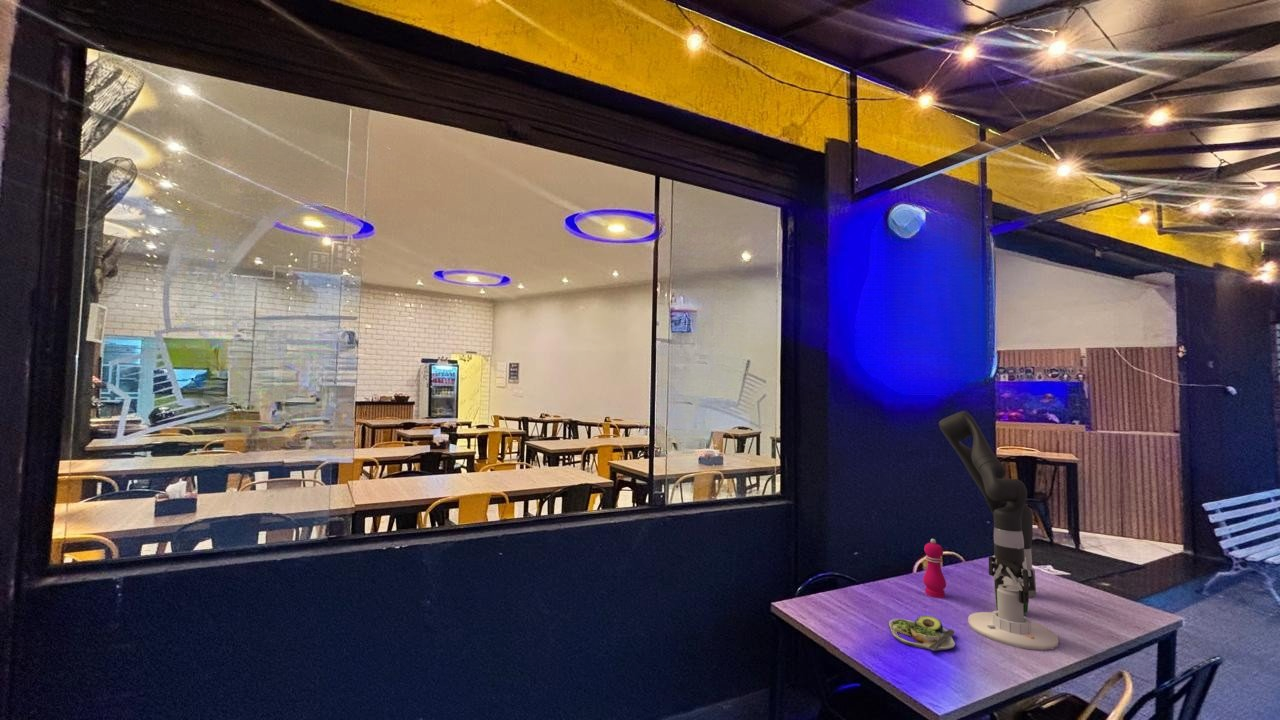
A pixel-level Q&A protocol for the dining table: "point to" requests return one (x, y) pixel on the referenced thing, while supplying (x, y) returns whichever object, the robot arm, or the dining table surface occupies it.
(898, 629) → the salad plate
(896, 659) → the dining table surface
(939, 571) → the pepper mill
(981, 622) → the twist-lock holder
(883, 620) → the dining table surface
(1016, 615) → the beverage can
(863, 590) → the dining table surface
